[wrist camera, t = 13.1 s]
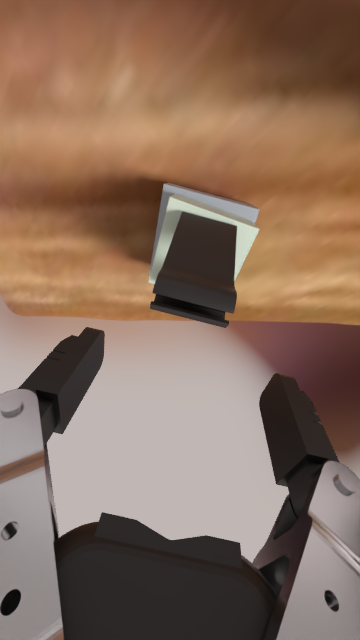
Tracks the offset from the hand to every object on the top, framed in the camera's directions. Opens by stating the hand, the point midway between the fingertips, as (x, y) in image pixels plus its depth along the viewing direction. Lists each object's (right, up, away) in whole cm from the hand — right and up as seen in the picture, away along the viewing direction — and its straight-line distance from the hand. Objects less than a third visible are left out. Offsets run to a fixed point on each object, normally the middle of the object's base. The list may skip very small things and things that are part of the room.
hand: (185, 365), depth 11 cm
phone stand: (+2, +9, +16) cm, 19 cm away
